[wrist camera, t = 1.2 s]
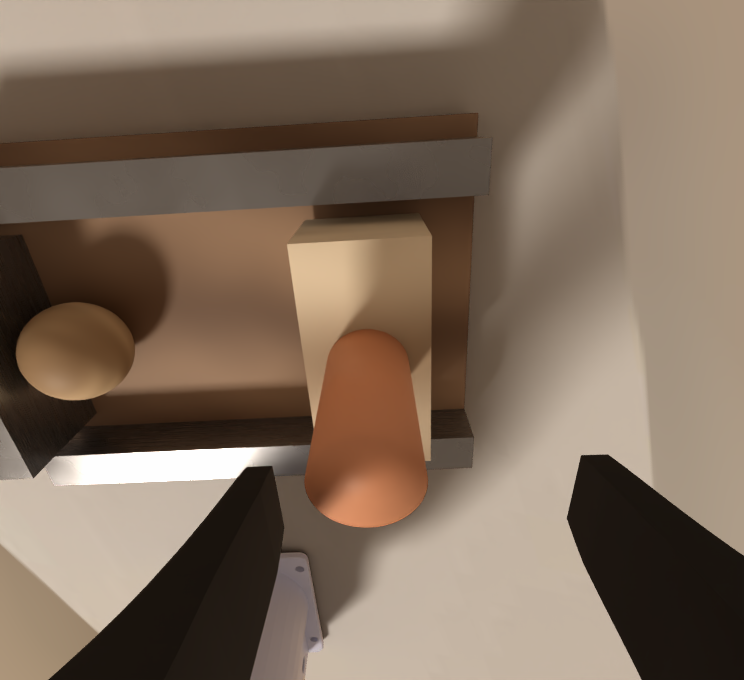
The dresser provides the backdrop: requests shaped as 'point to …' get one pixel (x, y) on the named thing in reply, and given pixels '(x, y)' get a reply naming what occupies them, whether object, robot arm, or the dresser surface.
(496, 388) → the dresser surface
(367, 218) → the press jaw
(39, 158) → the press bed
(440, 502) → the dresser surface
